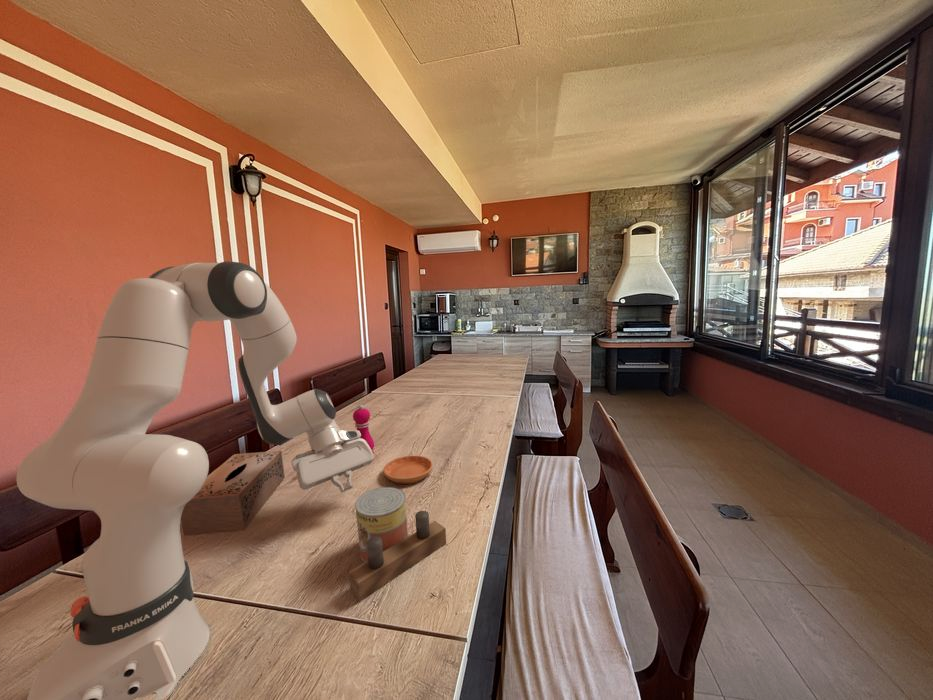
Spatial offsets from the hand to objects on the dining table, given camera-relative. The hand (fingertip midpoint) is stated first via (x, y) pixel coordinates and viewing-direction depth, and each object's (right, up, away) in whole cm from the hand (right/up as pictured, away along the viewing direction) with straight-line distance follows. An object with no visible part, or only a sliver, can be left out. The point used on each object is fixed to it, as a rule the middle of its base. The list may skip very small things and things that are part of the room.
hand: (347, 489), depth 94 cm
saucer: (+13, -4, +22) cm, 26 cm away
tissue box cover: (-34, -8, +9) cm, 36 cm away
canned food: (+13, -9, -11) cm, 19 cm away
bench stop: (+18, -10, -17) cm, 26 cm away
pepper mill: (-5, -2, +35) cm, 36 cm away
